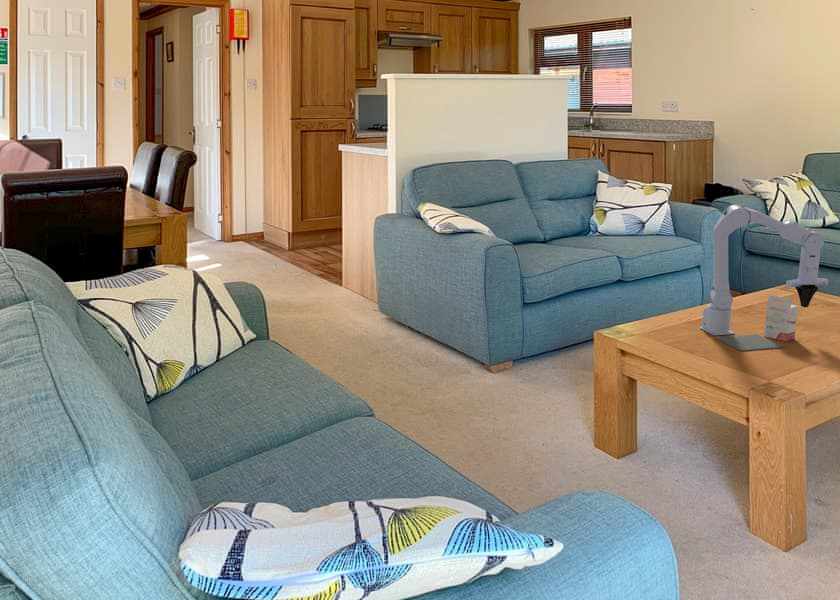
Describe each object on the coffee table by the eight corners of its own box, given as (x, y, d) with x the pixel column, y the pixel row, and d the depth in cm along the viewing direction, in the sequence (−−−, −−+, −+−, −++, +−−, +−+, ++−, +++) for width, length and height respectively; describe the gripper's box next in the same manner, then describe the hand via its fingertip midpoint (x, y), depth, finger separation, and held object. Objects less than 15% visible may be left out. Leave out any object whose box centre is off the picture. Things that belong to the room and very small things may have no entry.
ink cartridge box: (795, 339, 259) (800, 297, 255) (787, 342, 256) (792, 299, 252) (771, 333, 266) (775, 292, 262) (763, 336, 263) (767, 294, 259)
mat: (716, 338, 261) (716, 337, 261) (757, 335, 264) (757, 334, 263) (741, 351, 247) (741, 350, 247) (783, 347, 250) (784, 346, 250)
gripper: (797, 270, 251) (793, 310, 255) (836, 268, 254) (831, 308, 257) (783, 266, 258) (779, 305, 261) (821, 264, 261) (817, 302, 264)
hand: (804, 306), depth 260 cm, fingers closed
